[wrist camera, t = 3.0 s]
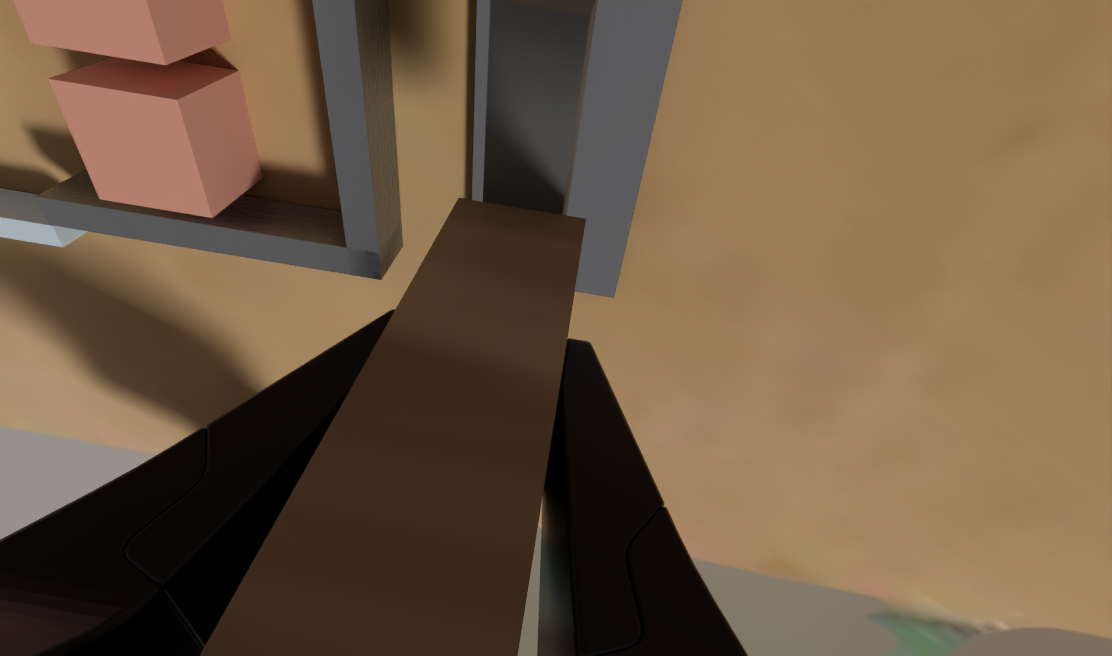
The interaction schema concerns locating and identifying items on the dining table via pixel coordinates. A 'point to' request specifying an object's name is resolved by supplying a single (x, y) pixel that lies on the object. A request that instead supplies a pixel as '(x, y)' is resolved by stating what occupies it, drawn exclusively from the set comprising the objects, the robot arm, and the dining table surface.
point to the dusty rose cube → (127, 26)
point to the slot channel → (281, 227)
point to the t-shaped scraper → (445, 402)
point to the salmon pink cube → (161, 133)
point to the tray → (30, 221)
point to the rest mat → (602, 126)
